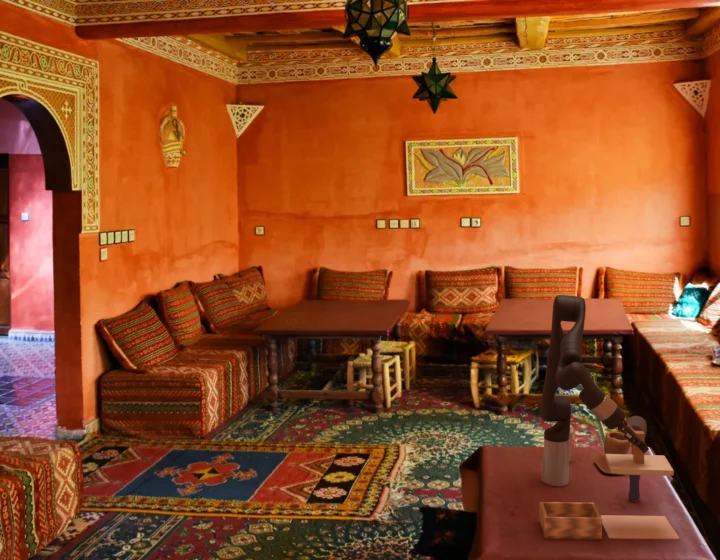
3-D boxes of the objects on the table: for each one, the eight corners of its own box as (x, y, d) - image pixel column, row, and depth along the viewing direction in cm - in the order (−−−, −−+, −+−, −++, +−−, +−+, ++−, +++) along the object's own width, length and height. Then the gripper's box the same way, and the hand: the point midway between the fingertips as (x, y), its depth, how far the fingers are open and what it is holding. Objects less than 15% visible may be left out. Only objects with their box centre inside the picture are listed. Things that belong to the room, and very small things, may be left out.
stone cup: (633, 476, 316) (634, 438, 314) (602, 476, 316) (602, 439, 314) (622, 462, 331) (623, 426, 329) (592, 462, 331) (593, 427, 329)
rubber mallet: (644, 508, 286) (646, 425, 282) (621, 505, 289) (623, 423, 285) (646, 495, 297) (648, 415, 293) (624, 492, 300) (626, 413, 296)
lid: (611, 476, 263) (612, 438, 262) (605, 460, 277) (605, 425, 275) (673, 478, 260) (674, 440, 259) (664, 462, 274) (665, 426, 272)
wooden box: (544, 538, 265) (544, 518, 264) (539, 521, 277) (539, 501, 276) (601, 539, 263) (602, 518, 262) (593, 522, 276) (594, 502, 275)
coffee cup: (574, 458, 337) (575, 423, 335) (572, 466, 328) (573, 430, 326) (551, 456, 340) (551, 421, 338) (548, 464, 331) (548, 428, 329)
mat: (609, 538, 264) (609, 537, 264) (598, 516, 281) (598, 515, 280) (679, 539, 262) (679, 538, 262) (664, 517, 279) (664, 516, 279)
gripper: (619, 410, 260) (658, 448, 260) (612, 398, 274) (650, 434, 273) (602, 426, 262) (640, 464, 261) (596, 413, 275) (633, 449, 275)
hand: (645, 448), depth 267 cm, fingers closed on lid, 3 cm apart
